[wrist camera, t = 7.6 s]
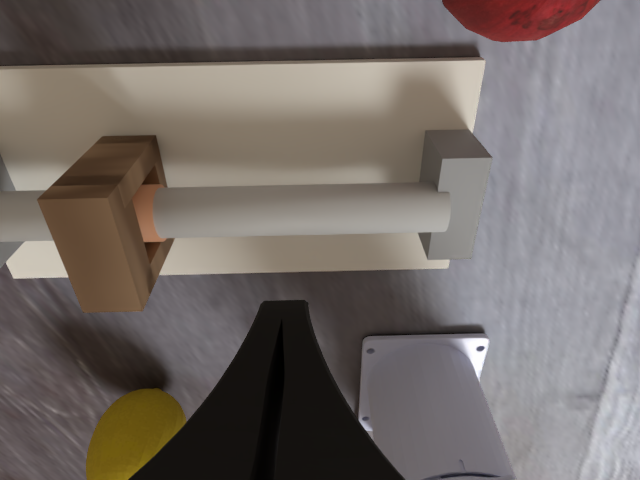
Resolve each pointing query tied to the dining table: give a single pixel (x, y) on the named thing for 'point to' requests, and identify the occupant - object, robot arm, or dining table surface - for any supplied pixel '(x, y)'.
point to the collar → (107, 223)
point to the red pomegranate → (517, 17)
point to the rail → (259, 160)
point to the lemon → (132, 433)
